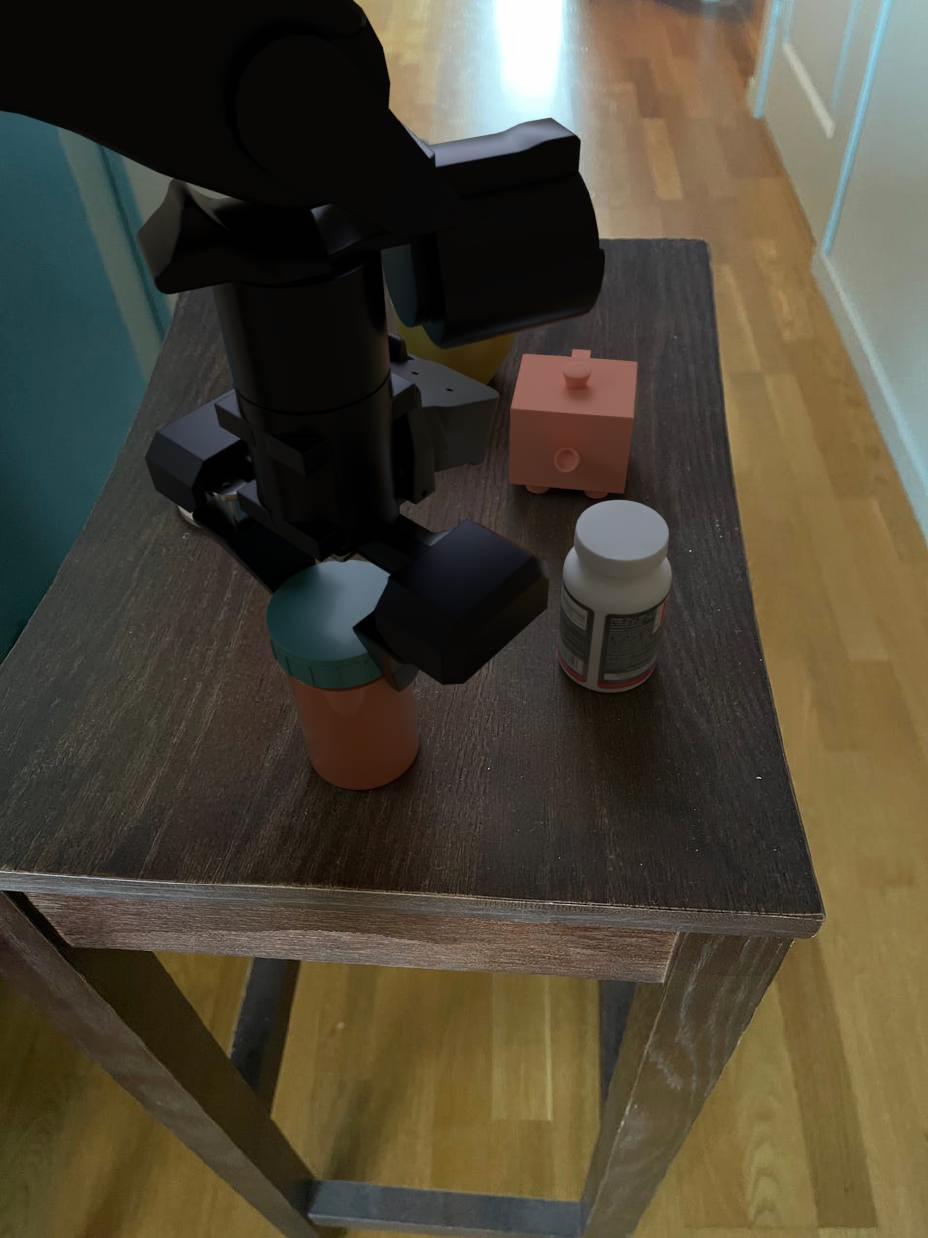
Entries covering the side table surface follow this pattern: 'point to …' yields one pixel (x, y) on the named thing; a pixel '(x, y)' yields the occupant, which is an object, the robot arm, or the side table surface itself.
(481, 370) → the flower pot
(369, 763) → the jar
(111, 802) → the side table surface
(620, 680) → the pill bottle
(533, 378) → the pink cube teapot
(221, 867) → the side table surface
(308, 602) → the lid
